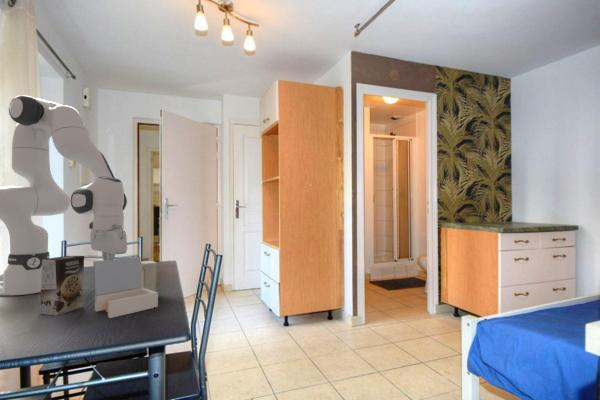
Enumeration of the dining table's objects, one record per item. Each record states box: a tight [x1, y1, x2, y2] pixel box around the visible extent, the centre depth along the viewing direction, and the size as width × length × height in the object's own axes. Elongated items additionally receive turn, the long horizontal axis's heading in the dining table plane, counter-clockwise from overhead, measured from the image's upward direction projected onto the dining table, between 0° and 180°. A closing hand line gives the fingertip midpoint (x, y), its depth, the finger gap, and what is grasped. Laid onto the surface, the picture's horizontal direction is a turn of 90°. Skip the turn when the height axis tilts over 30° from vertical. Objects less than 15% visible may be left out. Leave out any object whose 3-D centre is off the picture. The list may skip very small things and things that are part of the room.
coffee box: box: [39, 255, 85, 316], centre depth 100 cm, size 9×6×16 cm
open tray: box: [94, 287, 159, 319], centre depth 102 cm, size 11×14×4 cm
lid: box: [92, 256, 142, 297], centre depth 106 cm, size 10×14×1 cm
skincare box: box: [140, 260, 158, 292], centre depth 116 cm, size 6×4×12 cm
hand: (108, 265), depth 111 cm, fingers closed
